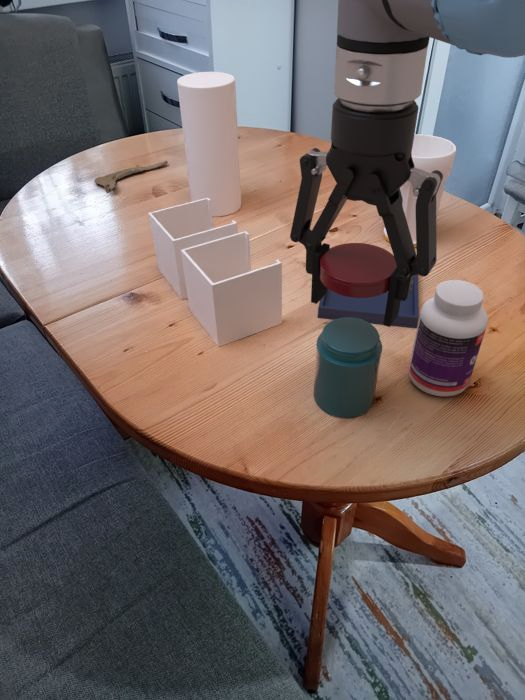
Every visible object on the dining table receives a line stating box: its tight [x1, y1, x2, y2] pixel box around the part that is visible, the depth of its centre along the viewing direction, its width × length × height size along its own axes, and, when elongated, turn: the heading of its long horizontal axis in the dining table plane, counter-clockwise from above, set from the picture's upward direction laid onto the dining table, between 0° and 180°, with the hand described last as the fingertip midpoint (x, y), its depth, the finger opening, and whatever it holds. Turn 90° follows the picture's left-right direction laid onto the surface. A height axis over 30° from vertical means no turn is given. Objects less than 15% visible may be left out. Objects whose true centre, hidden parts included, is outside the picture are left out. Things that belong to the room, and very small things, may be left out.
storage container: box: [147, 198, 283, 348], centre depth 87 cm, size 25×11×11 cm, turn 29°
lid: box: [320, 242, 397, 298], centre depth 59 cm, size 8×8×2 cm
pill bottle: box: [408, 279, 489, 397], centre depth 69 cm, size 8×8×14 cm
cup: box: [382, 133, 457, 249], centre depth 98 cm, size 11×11×17 cm
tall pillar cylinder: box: [176, 71, 242, 218], centre depth 107 cm, size 11×11×25 cm
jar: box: [313, 317, 383, 419], centre depth 68 cm, size 8×8×11 cm
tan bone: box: [93, 160, 169, 193], centre depth 128 cm, size 9×20×2 cm, turn 149°
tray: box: [317, 275, 420, 329], centre depth 89 cm, size 17×15×2 cm
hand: (353, 308), depth 62 cm, fingers closed on lid, 8 cm apart
